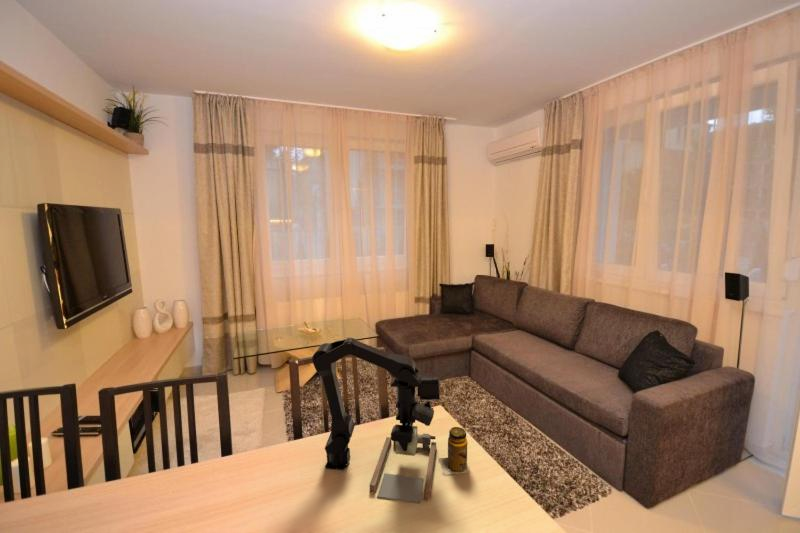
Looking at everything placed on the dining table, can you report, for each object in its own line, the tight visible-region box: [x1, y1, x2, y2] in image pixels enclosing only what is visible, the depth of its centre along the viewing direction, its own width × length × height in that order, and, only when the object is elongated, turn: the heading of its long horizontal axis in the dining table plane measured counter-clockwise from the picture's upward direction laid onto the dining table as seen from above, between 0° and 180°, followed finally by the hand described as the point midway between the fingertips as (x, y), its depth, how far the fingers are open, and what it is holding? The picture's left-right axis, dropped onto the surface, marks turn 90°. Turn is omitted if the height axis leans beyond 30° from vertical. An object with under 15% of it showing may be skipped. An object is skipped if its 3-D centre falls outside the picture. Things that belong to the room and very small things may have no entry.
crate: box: [395, 425, 419, 457], centre depth 113 cm, size 6×6×6 cm
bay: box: [369, 432, 437, 501], centre depth 113 cm, size 17×24×5 cm
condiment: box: [438, 426, 472, 476], centre depth 112 cm, size 7×8×12 cm
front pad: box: [376, 472, 424, 504], centre depth 104 cm, size 12×9×1 cm
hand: (406, 443), depth 113 cm, fingers closed on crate, 6 cm apart
